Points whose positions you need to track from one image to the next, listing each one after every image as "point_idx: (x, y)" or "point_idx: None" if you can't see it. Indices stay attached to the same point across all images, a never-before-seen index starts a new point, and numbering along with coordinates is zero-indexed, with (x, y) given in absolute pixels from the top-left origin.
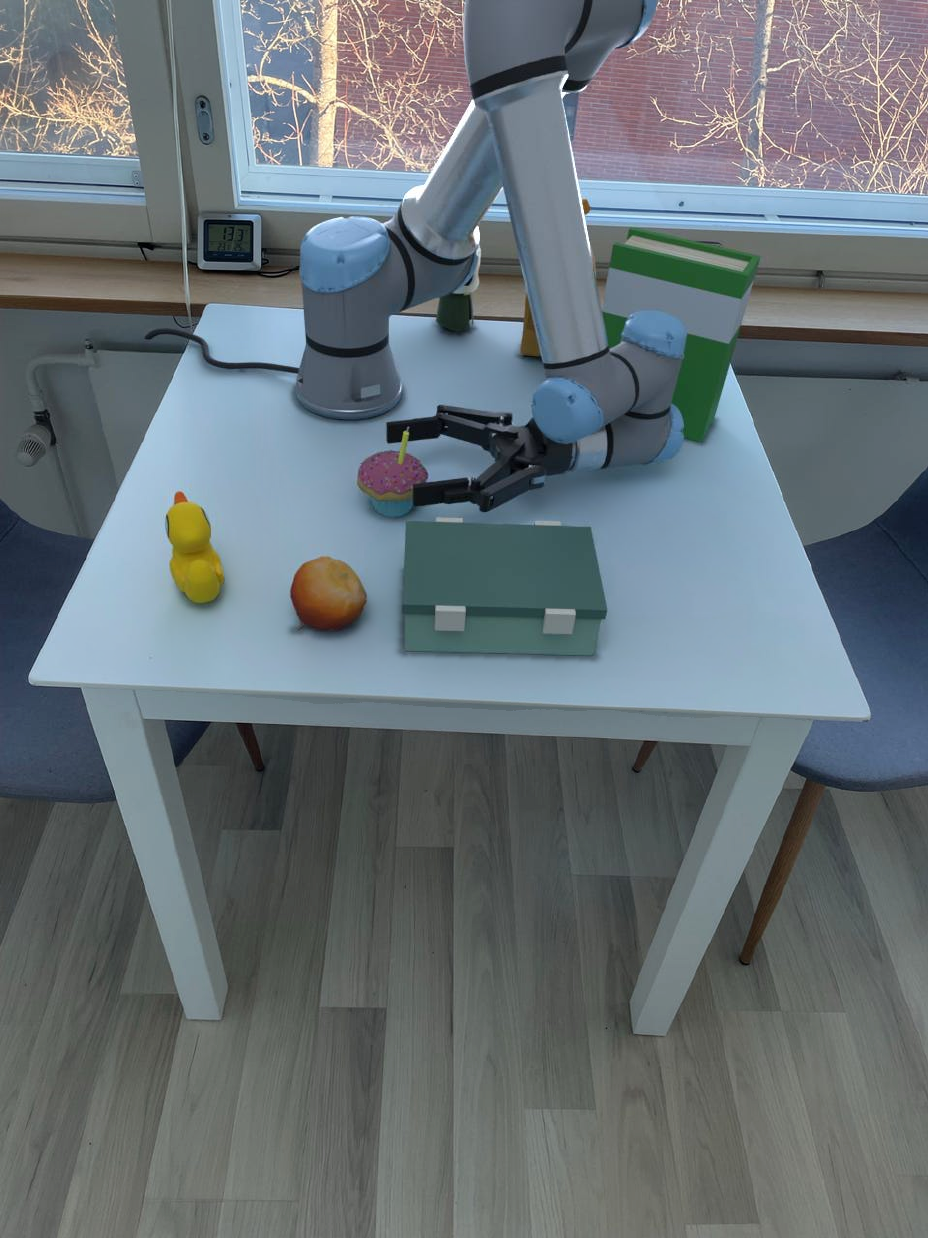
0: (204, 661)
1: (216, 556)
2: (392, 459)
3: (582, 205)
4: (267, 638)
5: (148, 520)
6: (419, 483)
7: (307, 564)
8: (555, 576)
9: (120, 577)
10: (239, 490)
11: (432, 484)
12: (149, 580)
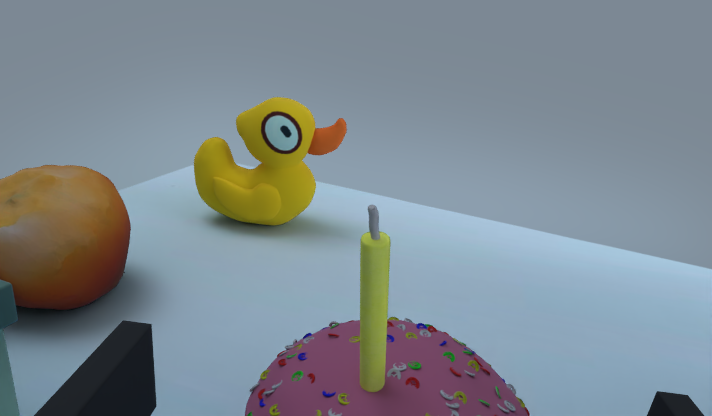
0: (125, 202)
1: (259, 187)
2: (396, 359)
3: None
4: None
5: (422, 219)
6: (133, 341)
7: (88, 168)
8: None
9: (319, 194)
10: (489, 287)
11: (76, 378)
12: None
